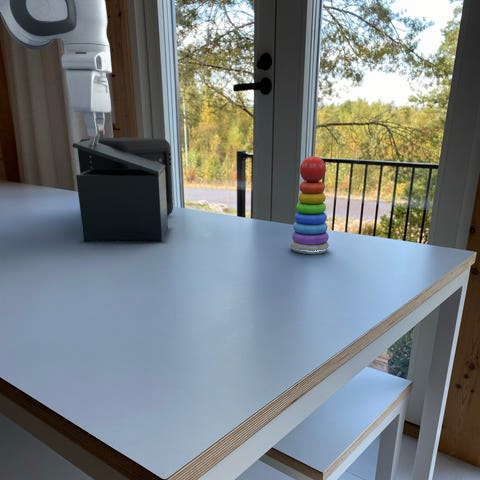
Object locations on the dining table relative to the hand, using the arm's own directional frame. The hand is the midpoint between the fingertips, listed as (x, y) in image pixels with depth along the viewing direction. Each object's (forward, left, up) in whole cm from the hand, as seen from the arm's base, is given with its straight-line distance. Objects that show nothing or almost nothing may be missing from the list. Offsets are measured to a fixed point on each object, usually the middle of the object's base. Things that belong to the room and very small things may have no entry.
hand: (96, 135), depth 102 cm
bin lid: (+5, 0, -5) cm, 7 cm away
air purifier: (+3, +19, -22) cm, 29 cm away
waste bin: (+5, 0, -21) cm, 22 cm away
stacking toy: (+45, -14, -22) cm, 52 cm away
